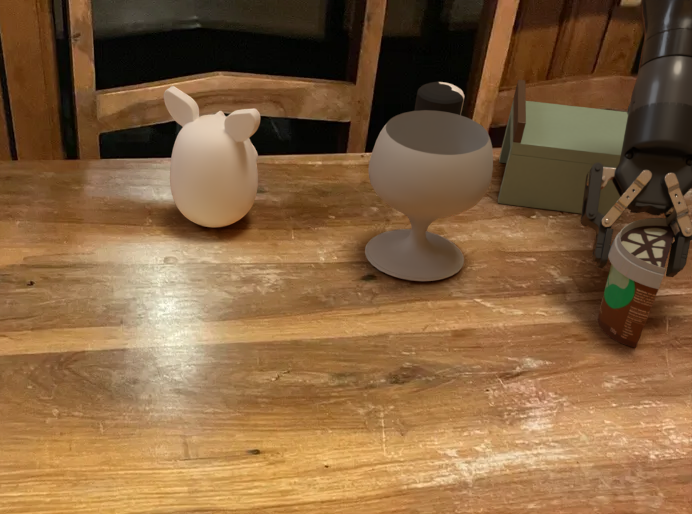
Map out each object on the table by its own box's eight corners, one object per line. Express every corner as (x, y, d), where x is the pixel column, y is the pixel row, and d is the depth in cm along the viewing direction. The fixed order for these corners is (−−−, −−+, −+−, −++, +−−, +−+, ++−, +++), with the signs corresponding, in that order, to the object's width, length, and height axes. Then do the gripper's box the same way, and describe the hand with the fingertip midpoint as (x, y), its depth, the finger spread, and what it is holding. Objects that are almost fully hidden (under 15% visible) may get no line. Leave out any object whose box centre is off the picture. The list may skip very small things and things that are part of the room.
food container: (597, 287, 112) (623, 206, 104) (650, 299, 110) (680, 217, 102) (577, 341, 104) (604, 258, 97) (633, 354, 103) (665, 271, 95)
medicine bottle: (423, 197, 125) (441, 103, 116) (388, 176, 129) (402, 83, 120) (461, 184, 128) (481, 91, 119) (425, 164, 132) (442, 72, 122)
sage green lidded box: (612, 171, 132) (639, 92, 124) (619, 218, 123) (648, 137, 115) (499, 158, 134) (518, 79, 126) (497, 203, 125) (518, 121, 117)
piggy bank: (269, 205, 122) (276, 82, 111) (248, 249, 115) (253, 122, 103) (179, 191, 124) (176, 69, 112) (151, 233, 116) (146, 107, 105)
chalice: (364, 287, 110) (382, 159, 98) (351, 228, 119) (366, 104, 108) (481, 289, 111) (513, 161, 99) (459, 230, 120) (486, 107, 108)
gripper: (606, 91, 98) (578, 252, 99) (748, 106, 96) (718, 269, 97) (588, 124, 105) (561, 272, 106) (719, 138, 104) (691, 288, 105)
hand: (636, 270), depth 102 cm, fingers closed on food container, 7 cm apart
